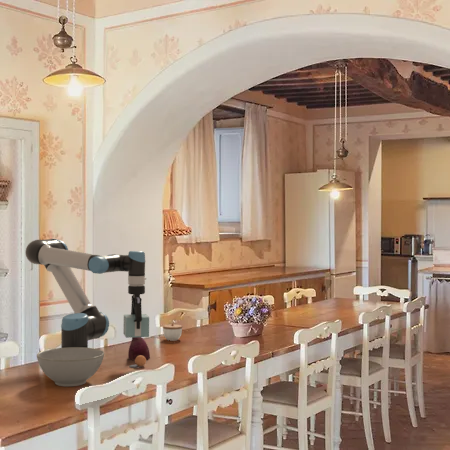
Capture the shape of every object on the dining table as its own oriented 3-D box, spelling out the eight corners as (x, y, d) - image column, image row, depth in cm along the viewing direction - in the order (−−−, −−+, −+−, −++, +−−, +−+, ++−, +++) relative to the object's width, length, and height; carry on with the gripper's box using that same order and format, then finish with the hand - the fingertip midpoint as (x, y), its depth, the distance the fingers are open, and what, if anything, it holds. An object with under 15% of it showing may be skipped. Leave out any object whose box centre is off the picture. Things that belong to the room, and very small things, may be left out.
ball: (142, 354, 310) (149, 362, 311) (140, 352, 315) (147, 360, 316) (133, 361, 309) (140, 369, 310) (132, 359, 314) (139, 367, 315)
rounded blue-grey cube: (126, 337, 306) (126, 317, 306) (123, 333, 316) (123, 314, 316) (149, 336, 308) (149, 317, 308) (145, 333, 318) (145, 314, 318)
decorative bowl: (108, 375, 294) (108, 347, 294) (98, 391, 267) (99, 360, 267) (44, 375, 293) (45, 347, 293) (29, 391, 266) (29, 360, 266)
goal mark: (130, 368, 308) (130, 367, 308) (128, 365, 314) (128, 364, 314) (143, 367, 310) (143, 367, 310) (141, 364, 316) (141, 364, 316)
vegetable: (130, 367, 325) (123, 338, 322) (128, 360, 335) (121, 331, 332) (152, 361, 327) (145, 331, 324) (149, 354, 337) (142, 325, 334)
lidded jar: (179, 341, 375) (179, 324, 375) (160, 341, 377) (160, 323, 377) (184, 338, 386) (184, 321, 386) (165, 337, 388) (166, 321, 388)
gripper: (148, 287, 302) (148, 338, 302) (141, 282, 324) (140, 329, 324) (131, 287, 300) (131, 338, 300) (125, 282, 322) (124, 330, 322)
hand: (136, 334), depth 312 cm, fingers closed on rounded blue-grey cube, 10 cm apart
